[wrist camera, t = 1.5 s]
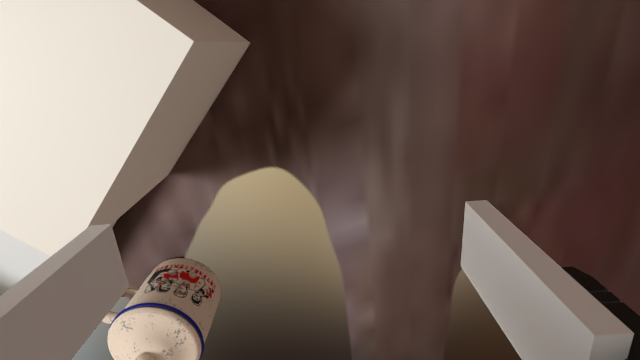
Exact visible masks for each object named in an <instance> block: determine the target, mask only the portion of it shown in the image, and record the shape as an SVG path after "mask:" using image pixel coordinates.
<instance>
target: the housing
mask: <svg viewBox="0 0 640 360" xmlns="http://www.w3.org/2000/svg"><path fill="white" fill-rule="evenodd" d="M249 45H250V42H249V41H247V40H246V39H245V38H243V37H242V36H241V35H239V34H238V33H237V32H235V31H234V30H233V29H231V28H230V27H229V26H227V25H226V24H225V23H223V22H222V21H221V20H219V19H218V18H217V17H215V16H214V15H212V14H211V13H210V12H208V11H207V10H206V9H204V8H203V7H202V6H200V5H199V4H198V3H196V2H195V1H194V0H0V230H2V231H4V232H6V233H7V234H9V235H11V236H13V237H15V238H17V239H19V240H21V241H23V242H25V243H26V244H28V245H30V246H32V247H34V248H36V249H38V250H40V251H42V252H44V253H45V254H47V255H49V256H52V255H53V254H55V253H56V252H57V251H59V250H60V249H61V248H62V247H64V246H65V245H66V244H68V243H69V242H70V241H71V240H73V239H74V238H75V237H77V236H78V235H79V234H80V233H82V232H83V231H84V230H86V229H87V228H88V227H89V226H91V225H104V224H111V225H112V224H113V223H114V222H115V221H116V220H117V219H118V218H120V217H121V216H122V215H123V214H124V213H125V212H126V211H128V210H129V209H130V208H131V207H132V206H133V205H134V204H136V203H137V202H138V201H139V200H140V199H141V198H142V197H144V196H145V195H146V194H147V193H148V192H149V191H150V190H152V189H153V188H154V187H155V186H156V185H157V184H158V183H160V182H161V181H162V180H163V179H164V178H165V177H166V176H168V175H169V173H170V172H171V170H172V168H173V167H174V165H175V164H176V162H177V160H178V159H179V157H180V156H181V154H182V152H183V151H184V149H185V148H186V146H187V144H188V143H189V141H190V140H191V138H192V136H193V135H194V133H195V132H196V130H197V128H198V127H199V125H200V124H201V122H202V120H203V119H204V117H205V116H206V114H207V112H208V111H209V109H210V108H211V106H212V104H213V103H214V101H215V99H216V98H217V96H218V95H219V93H220V91H221V90H222V88H223V87H224V85H225V83H226V82H227V80H228V79H229V77H230V75H231V74H232V72H233V71H234V69H235V67H236V66H237V64H238V63H239V61H240V59H241V58H242V56H243V55H244V53H245V51H246V50H247V48H248V47H249Z"/></svg>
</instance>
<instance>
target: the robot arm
mask: <svg viewBox="0 0 640 360" xmlns="http://www.w3.org/2000/svg"><path fill="white" fill-rule="evenodd" d="M461 268H462V269H463V271H464V272H465V274H466V275H467V277H468V278H469V280H470V281H471V283H472V284H473V286H474V287H475V289H476V290H477V292H478V293H479V295H480V296H481V298H482V300H483V301H484V303H485V304H486V305H487V307H488V309H489V310H490V312H491V313H492V315H493V316H494V317H495V319H496V321H497V322H498V324H499V325H500V327H501V329H502V330H503V331H504V333H505V335H506V336H507V338H508V339H509V341H510V342H511V344H512V345H513V347H514V348H515V350H516V351H517V353H518V354H519V356H520V358H521V359H522V360H640V316H639V315H638V314H636V313H635V312H634V311H633V310H632V309H630V308H629V307H628V306H627V305H626V304H624V303H621V302H620V299H618V298H617V297H616V296H615V295H613V294H612V293H611V292H608V291H607V289H606V288H605V287H604V286H603V285H601V284H600V283H599V282H598V281H597V280H595V279H594V278H593V277H592V276H590V275H588V274H586V273H584V272H582V271H580V270H578V269H576V268H574V267H560V266H559V265H558V264H557V263H556V262H555V261H553V260H552V259H551V258H550V257H549V256H548V255H547V254H546V253H545V252H543V251H542V250H541V249H540V248H539V247H538V246H537V245H536V244H535V243H533V242H532V241H531V240H530V239H529V238H528V237H527V236H526V235H525V234H523V233H522V232H521V231H520V230H519V229H518V228H517V227H516V226H515V225H513V224H512V223H511V222H510V221H509V220H508V219H507V218H506V217H505V216H503V215H502V214H501V213H500V212H499V211H498V210H497V209H496V208H495V207H493V206H492V205H491V204H490V203H489V202H488V201H487V200H483V201H467V202H465V215H464V229H463V242H462V256H461ZM128 287H129V284H128V280H127V277H126V273H125V270H124V267H123V263H122V260H121V256H120V253H119V249H118V246H117V242H116V239H115V235H114V232H113V228H112V225H111V224H104V225H91V226H89V227H88V228H87V229H86V230H84V231H83V232H82V233H80V234H79V235H78V236H77V237H75V238H74V239H73V240H71V241H70V242H69V243H68V244H66V245H65V246H64V247H62V248H61V249H60V250H59V251H57V252H56V253H55V254H53V255H52V256H51V257H50V258H48V259H47V260H46V261H45V262H43V263H42V264H41V265H39V266H38V267H37V268H36V269H34V270H33V271H32V272H30V273H29V274H28V275H27V276H25V277H24V278H23V279H21V280H20V281H19V282H18V283H16V284H15V285H14V286H12V287H11V288H10V289H9V290H7V291H6V292H5V293H3V294H2V295H1V296H0V360H71V359H72V358H73V357H74V355H75V354H76V353H77V351H78V350H79V349H80V348H81V346H82V345H83V344H84V343H85V341H86V340H87V339H88V338H89V336H90V335H91V334H92V333H93V331H94V330H95V329H96V328H97V326H98V325H99V324H100V323H101V321H102V320H103V319H104V317H105V316H106V315H107V314H108V312H109V311H110V310H111V309H112V307H113V306H114V305H115V303H116V302H117V301H118V300H119V299H120V297H121V296H122V295H123V293H124V292H125V291H126V290H127V288H128Z"/></svg>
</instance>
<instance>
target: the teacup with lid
mask: <svg viewBox="0 0 640 360" xmlns="http://www.w3.org/2000/svg"><path fill="white" fill-rule="evenodd" d="M121 297H133V298H132V299H131V301H130V302H129V303H128V305H127V306H126V307H125V309H124V310H123V311H121V312H120V313H115V312H111V311H109V312H108V314H107V315H106V316H105V317H104V319H103V320H102V322H105V323H108V324H111V325H110V328H109V332H108V347H109V350H110V353H111V355H112V357H113V358H114V360H200V359H201V356H202V354H203V350H204V342H205V339H206V337H207V334H208V331H209V329H210V326H211V323H212V321H213V318H214V315H215V313H216V310H217V307H218V305H219V302H220V299H221V286H220V283H219V281H218V278H217V277H216V275H215V274H214V273H213V272H212V271H211V270H210V269H209V268H208V267H207V266H205V265H204V264H202V263H200V262H197V261H195V260H192V259H186V258H175V259H170V260H167V261H164V262H162V263H160V264H159V265H158V266H156V267H155V268H154V269H153V270H152V272H151V273H150V274H149V276H148V277H147V279H146V280H145V281H144V283H143V284H142V285H141V287H140V288H139V287H134V286H129V287H128V288H127V290H126V291H125V292H124V293H123V295H122V296H121Z"/></svg>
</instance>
